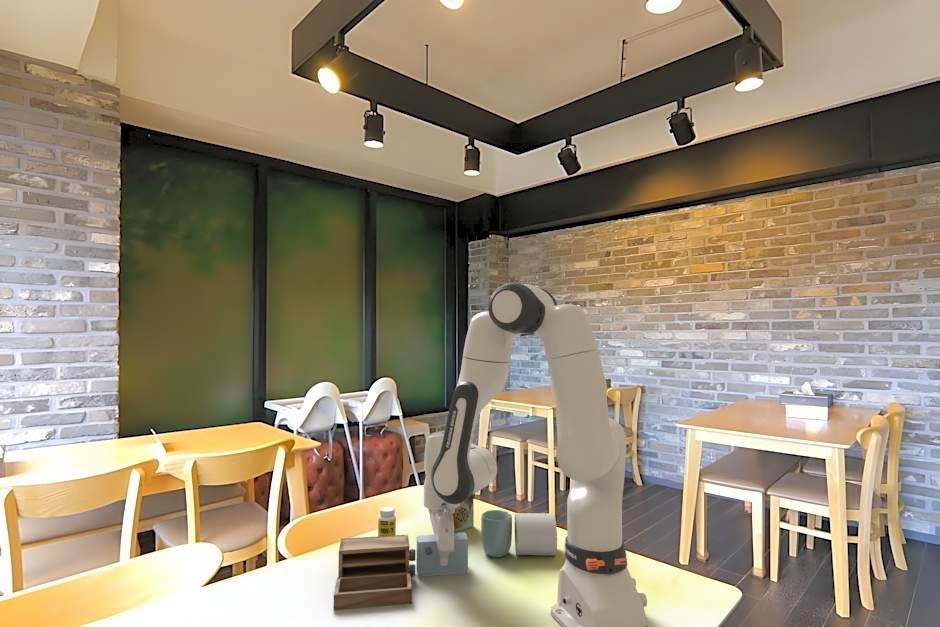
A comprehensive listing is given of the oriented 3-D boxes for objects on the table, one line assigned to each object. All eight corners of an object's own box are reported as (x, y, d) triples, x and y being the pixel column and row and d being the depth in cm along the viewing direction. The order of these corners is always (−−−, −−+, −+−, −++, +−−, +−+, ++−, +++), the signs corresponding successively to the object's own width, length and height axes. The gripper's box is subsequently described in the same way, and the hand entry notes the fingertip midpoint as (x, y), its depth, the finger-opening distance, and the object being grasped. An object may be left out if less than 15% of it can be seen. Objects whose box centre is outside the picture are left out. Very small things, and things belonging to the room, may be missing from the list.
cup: (500, 563, 126) (500, 522, 127) (475, 555, 131) (475, 515, 132) (517, 553, 133) (517, 514, 133) (492, 545, 137) (492, 507, 138)
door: (468, 575, 120) (468, 540, 121) (417, 579, 119) (418, 544, 119) (465, 565, 125) (465, 532, 126) (416, 569, 123) (416, 535, 124)
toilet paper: (551, 545, 137) (551, 508, 138) (557, 562, 127) (557, 521, 128) (514, 545, 138) (514, 507, 138) (517, 561, 128) (517, 521, 128)
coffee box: (460, 520, 156) (460, 467, 156) (474, 526, 151) (474, 471, 151) (436, 527, 150) (436, 472, 151) (449, 534, 145) (449, 477, 146)
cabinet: (418, 602, 108) (418, 566, 108) (333, 609, 105) (334, 572, 105) (413, 565, 125) (413, 534, 126) (340, 570, 122) (341, 538, 123)
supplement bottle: (378, 543, 138) (378, 512, 139) (377, 537, 143) (378, 506, 143) (396, 542, 139) (396, 511, 140) (395, 535, 144) (395, 505, 144)
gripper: (461, 511, 114) (460, 575, 113) (449, 484, 134) (449, 538, 133) (433, 513, 112) (432, 577, 112) (425, 485, 133) (424, 539, 132)
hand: (441, 555), depth 123 cm, fingers open, 8 cm apart
